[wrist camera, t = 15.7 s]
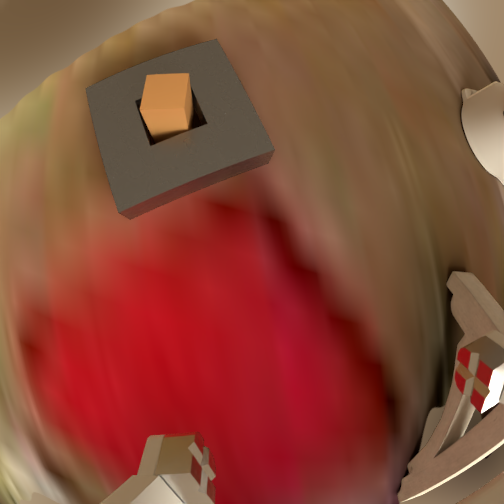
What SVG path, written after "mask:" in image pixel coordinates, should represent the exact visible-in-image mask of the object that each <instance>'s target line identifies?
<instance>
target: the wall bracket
mask: <svg viewBox="0 0 504 504" xmlns="http://www.w3.org/2000/svg"><path fill="white" fill-rule="evenodd" d="M447 287H448V288H449V290H450V291H451V292H452V293H453V297H452V300H451V311H452V315H453V316H454V318H455V319H456V321H457V322H458V324H459V325H460V327H461V328H462V330H463V331H464V333H465V335H464V336H463V337H462V339H461V340H460V342H459V343H458V345H457V352H456V360H455V367H454V374H453V380H452V385H451V388H450V392H449V395H448V399H447V402H446V405H445V408H444V411H443V414H442V417H441V419H440V421H439V423H438V425H437V427H436V429H435V430H434V432H433V434H432V436H431V437H430V439H429V441H428V443H427V444H426V445H425V447H424V448H423V449H422V450H421V451H420V452H419V453H418V454H417V455H416V456H415V457H414V458H413V459H412V460H411V461H410V462H409V463H408V466H407V467H408V471H409V475H407V476H406V477H404V478H402V481H401V489H400V491H399V493H398V494H397V495H398V499H399V503H401V502H404V501H407V500H409V499H412V498H415V497H418V496H420V495H422V494H424V493H426V492H428V491H430V490H432V489H434V488H436V487H438V486H439V485H441V484H443V483H445V482H447V481H448V480H450V479H452V478H453V477H455V476H457V475H458V474H460V473H462V472H463V471H465V470H466V469H468V468H469V467H471V466H473V465H474V464H476V463H477V462H478V461H480V460H482V459H483V458H484V457H486V456H487V455H489V454H490V453H491V452H493V451H494V450H495V449H497V448H498V447H499V446H501V445H502V444H503V443H504V404H501V403H500V404H499V405H498V406H497V407H496V408H495V409H494V410H492V411H491V412H490V413H489V414H488V415H487V416H486V417H485V418H484V419H483V420H482V421H480V422H479V423H478V424H477V425H476V426H475V427H474V428H472V429H471V430H470V431H469V432H468V433H466V434H465V435H464V432H465V430H466V428H467V426H468V424H469V422H470V419H471V417H472V415H473V412H474V410H475V407H474V406H473V405H472V404H471V403H470V396H466V395H463V394H462V393H461V392H460V391H459V389H458V388H457V386H456V382H455V370H456V368H457V367H458V365H459V363H460V362H459V361H458V360H457V356H458V352H459V350H460V348H462V347H464V346H466V345H468V344H469V343H471V342H473V341H475V340H476V339H478V338H480V337H482V336H483V335H485V334H486V333H488V332H489V331H491V330H497V331H498V332H500V333H501V334H503V335H504V311H503V309H502V308H501V307H500V306H499V304H498V303H497V302H496V301H495V299H494V298H493V297H492V296H491V294H490V293H489V292H488V291H487V289H486V288H485V287H484V286H483V285H482V283H481V282H480V281H479V280H478V279H477V278H476V277H475V275H474V274H473V273H469V272H457V271H452V273H451V275H450V277H449V279H448V281H447ZM463 435H464V436H463Z"/></svg>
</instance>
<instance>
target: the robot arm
mask: <svg viewBox="0 0 504 504" xmlns="http://www.w3.org/2000/svg"><path fill="white" fill-rule="evenodd" d="M462 98H463V107H462V113H461V116H462V124H463V128H464V132H465V135H466V137H467V140H468V142H469V145H470V147H471V149H472V151H473V152H474V154H475V156H476V157H477V159H478V160H479V162H480V163H481V164H482V166H483V167H484V168H485V169H486V170H487V171H488V172H489V173H491V174H492V175H494V176H495V177H497V178H498V179H499V180H500V181H501V183H502V184H503V185H504V84H503V83H498V82H497V81H495V82H493V83H491V84H489V85H488V86H486V87H484V88H483V89H481V90H479V91H476V90H472V89H468V88H465V89H463V90H462ZM457 360H458V361H459V362H460V363H459V365H458V367H457V368H456V370H455V382H456V386H457V388H458V389H459V391H460V392H461V393H462V394H463V395H466V396H470V403H471V404H472V405H473V406H474V407H475V408H476V409H477V410H478V411H479V412H480V413H483V412H484V411H486V410H487V409H489V408H490V407H492V406H493V405H495V404H496V403H498V402H499V401H500V402H499V403H501V404H504V335H503V334H501V333H500V332H498V331H497V330H491V331H489V332H488V333H486V334H485V335H483V336H482V337H480V338H478V339H476V340H475V341H473V342H471V343H469V344H468V345H466V346H464V347H462V348H460V350H459V352H458V356H457ZM215 476H216V467H215V461H214V458H213V455H212V453H211V451H210V449H209V448H207V447H205V446H204V439H203V437H202V435H201V434H200V432H191V433H179V434H166V435H151V436H150V437H149V438H148V439H147V442H146V445H145V449H144V452H143V456H142V459H141V463H140V467H139V470H138V474H137V475H133V476H131V477H130V478H129V479H128V480H127V481H126V482H125V483H123V484H122V485H121V486H120V487H119V488H118V489H117V490H115V491H114V492H113V493H112V494H111V495H109V496H108V497H107V498H106V499H105V500H103V501H102V502H101V503H100V504H215V486H214V485H213V483H212V482H211V481H212V479H213V478H214V477H215ZM456 504H504V471H503V472H502V473H501V474H499V475H498V476H497V477H495V478H494V479H492V480H491V481H490V482H488V483H487V484H485V485H484V486H483V487H481V488H480V489H478V490H477V491H475V492H474V493H472V494H471V495H469V496H468V497H466V498H464V499H463V500H461V501H460V502H458V503H456Z"/></svg>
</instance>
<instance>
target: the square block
mask: <svg viewBox="0 0 504 504" xmlns="http://www.w3.org/2000/svg"><path fill="white" fill-rule="evenodd" d="M140 112H141V114H142V116H143V118H144V120H145V122H146V125H147V127H148V129H149V131H150V133H151V135H152V137H153V140H154V142H155V144H157V143H159V142H162V141H164V140H167V139H169V138H171V137H174V136H176V135H179V134H182V133H184V132H187V131H189V130H192V127H193V117H194V110H193V102H192V94H191V86H190V78H189V73H175V74H154V75H147V77H146V81H145V86H144V91H143V96H142V101H141V106H140Z"/></svg>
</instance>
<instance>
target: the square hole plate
mask: <svg viewBox="0 0 504 504" xmlns="http://www.w3.org/2000/svg"><path fill="white" fill-rule="evenodd" d="M175 73H189V78H190V86H191V94H192V102H193V105H194V108H195V110H196V112H197V114H198V117H199V119H200V121H201V124H202V126H200V127H197V128H195V129H192V130H189V131H187V132H184V133H182V134H179V135H176V136H174V137H171V138H169V139H167V140H164V141H162V142H159V143H157V144H155V145H152V143H151V140H150V138H149V135H148V132H147V129H146V126H145V123H144V120H143V116H142V114H141V112H140V106H141V101H142V96H143V91H144V86H145V81H146V77H147V75H154V74H175ZM86 94H87V98H88V103H89V108H90V112H91V117H92V121H93V125H94V129H95V134H96V137H97V141H98V145H99V149H100V153H101V156H102V160H103V164H104V167H105V171H106V174H107V178H108V181H109V184H110V187H111V191H112V194H113V197H114V200H115V203H116V206H117V209H118V212H119V213H120V214H121V215H123V216H125V217H127V218H128V219H130V220H131V219H133V218H135V217H137V216H139V215H141V214H144V213H146V212H148V211H150V210H153V209H155V208H157V207H159V206H162V205H164V204H166V203H169V202H171V201H173V200H176V199H178V198H180V197H183V196H185V195H187V194H190V193H192V192H195V191H197V190H200V189H202V188H204V187H207V186H209V185H212V184H214V183H217V182H220V181H222V180H225V179H227V178H230V177H232V176H235V175H238V174H240V173H243V172H246V171H248V170H251V169H254V168H257V167H259V166H262V165H265V164H268V163H269V161H270V159H271V157H272V155H273V153H274V150H275V149H274V147H273V145H272V143H271V141H270V139H269V137H268V135H267V133H266V131H265V129H264V127H263V125H262V123H261V121H260V119H259V117H258V115H257V113H256V111H255V109H254V107H253V105H252V103H251V101H250V99H249V97H248V95H247V93H246V91H245V90H244V88H243V86H242V84H241V82H240V80H239V78H238V76H237V75H236V73H235V71H234V69H233V67H232V65H231V64H230V62H229V60H228V58H227V56H226V55H225V53H224V51H223V49H222V48H221V46H220V44H219V42H218V41H217V39H215V40H211V41H207V42H203V43H200V44H196V45H193V46H190V47H186V48H183V49H180V50H177V51H174V52H171V53H168V54H165V55H162V56H159V57H157V58H154V59H151V60H149V61H146V62H143V63H141V64H138V65H136V66H133V67H131V68H129V69H126V70H124V71H121V72H119V73H117V74H115V75H112V76H110V77H108V78H106V79H104V80H102V81H100V82H98V83H96V84H93V85H91V86H89V87H87V88H86Z"/></svg>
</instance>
